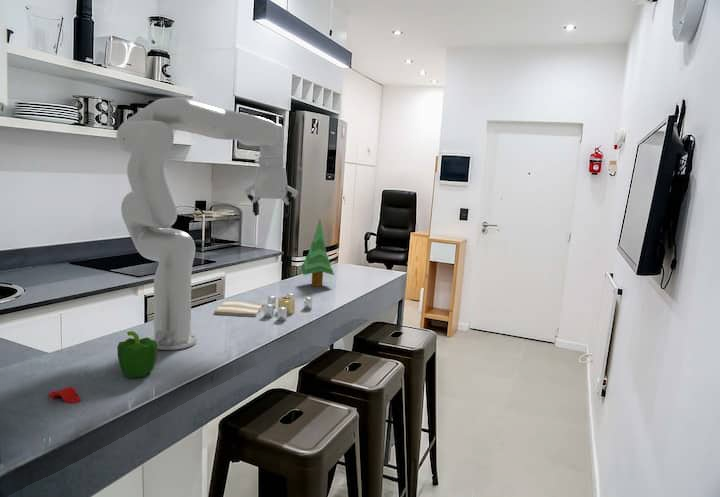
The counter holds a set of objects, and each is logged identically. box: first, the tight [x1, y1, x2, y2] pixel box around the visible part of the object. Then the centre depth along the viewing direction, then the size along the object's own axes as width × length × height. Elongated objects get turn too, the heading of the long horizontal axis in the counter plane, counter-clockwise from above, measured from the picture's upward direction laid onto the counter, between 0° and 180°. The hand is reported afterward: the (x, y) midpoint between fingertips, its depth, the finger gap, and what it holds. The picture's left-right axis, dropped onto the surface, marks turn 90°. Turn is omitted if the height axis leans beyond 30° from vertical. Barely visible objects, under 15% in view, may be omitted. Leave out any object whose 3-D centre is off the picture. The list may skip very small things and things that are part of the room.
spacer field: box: [263, 292, 313, 322], centre depth 177 cm, size 23×16×4 cm
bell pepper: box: [117, 330, 158, 379], centre depth 117 cm, size 8×8×10 cm
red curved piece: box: [48, 386, 82, 404], centre depth 104 cm, size 8×3×2 cm, turn 68°
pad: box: [213, 300, 265, 317], centre depth 176 cm, size 14×14×1 cm
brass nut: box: [277, 295, 296, 315], centre depth 177 cm, size 5×6×5 cm
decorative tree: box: [300, 218, 335, 288], centre depth 220 cm, size 14×16×30 cm
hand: (271, 215), depth 165 cm, fingers open, 9 cm apart
